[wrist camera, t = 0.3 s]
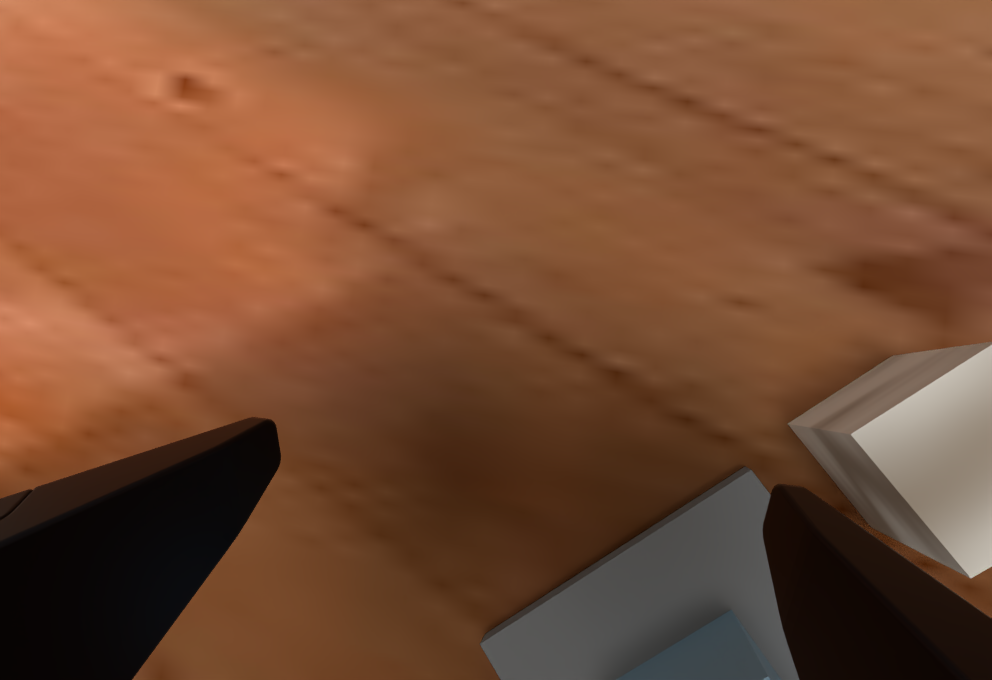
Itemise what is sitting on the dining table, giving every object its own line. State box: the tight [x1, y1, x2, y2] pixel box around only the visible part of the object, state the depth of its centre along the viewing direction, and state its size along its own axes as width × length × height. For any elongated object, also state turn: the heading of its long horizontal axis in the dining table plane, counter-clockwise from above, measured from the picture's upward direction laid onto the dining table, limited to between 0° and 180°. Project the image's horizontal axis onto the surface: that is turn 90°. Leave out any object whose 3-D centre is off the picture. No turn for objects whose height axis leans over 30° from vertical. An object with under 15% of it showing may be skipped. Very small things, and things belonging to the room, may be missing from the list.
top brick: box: [788, 342, 992, 578], centre depth 18 cm, size 5×5×6 cm
